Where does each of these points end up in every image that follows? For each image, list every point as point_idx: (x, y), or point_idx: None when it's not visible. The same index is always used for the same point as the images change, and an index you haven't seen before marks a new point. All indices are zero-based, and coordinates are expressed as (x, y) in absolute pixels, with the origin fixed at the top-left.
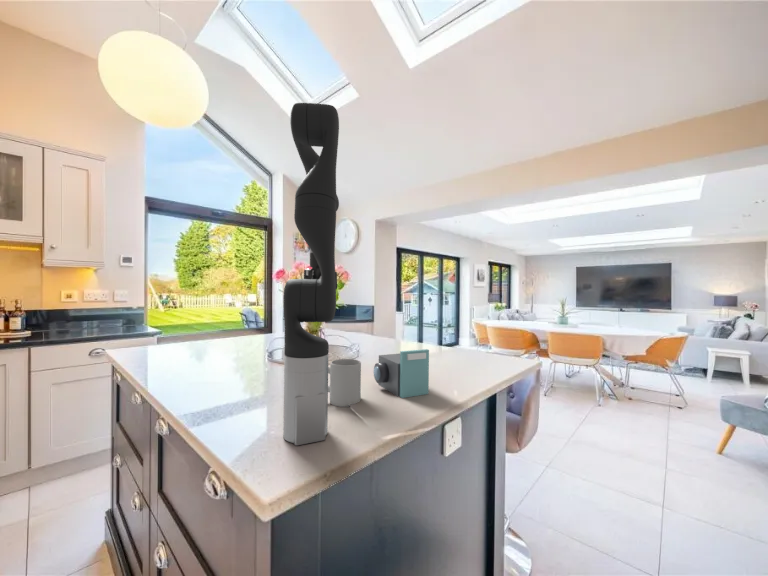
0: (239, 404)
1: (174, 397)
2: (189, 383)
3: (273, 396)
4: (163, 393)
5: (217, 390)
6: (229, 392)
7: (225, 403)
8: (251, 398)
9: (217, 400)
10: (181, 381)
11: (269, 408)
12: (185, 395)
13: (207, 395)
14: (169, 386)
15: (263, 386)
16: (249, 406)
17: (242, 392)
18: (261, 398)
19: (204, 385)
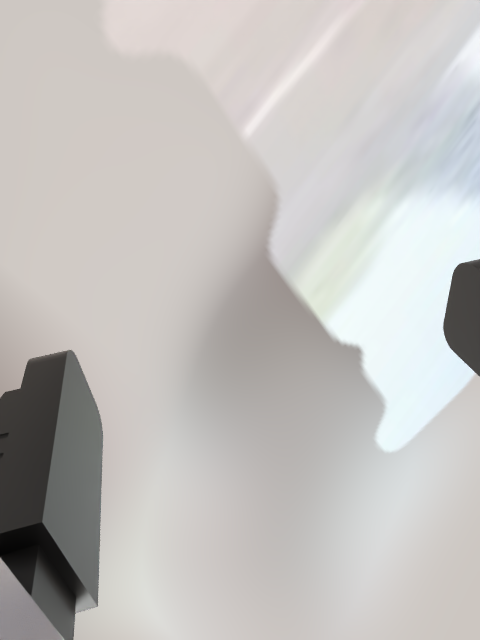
0: (461, 161)
1: None
2: (384, 417)
3: (364, 146)
4: (460, 377)
5: (395, 323)
6: (394, 285)
7: (467, 201)
8: (408, 185)
9: (456, 242)
10: (381, 441)
11: (459, 41)
12: None
13: (435, 300)
14: (419, 418)
15: (305, 270)
16: (465, 118)
17: (379, 260)
18: (396, 160)
19: (380, 382)
